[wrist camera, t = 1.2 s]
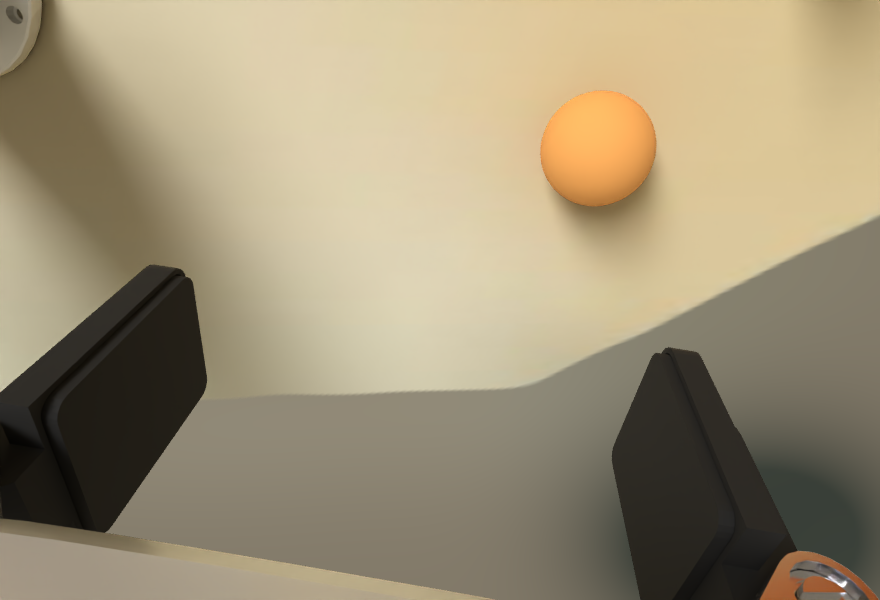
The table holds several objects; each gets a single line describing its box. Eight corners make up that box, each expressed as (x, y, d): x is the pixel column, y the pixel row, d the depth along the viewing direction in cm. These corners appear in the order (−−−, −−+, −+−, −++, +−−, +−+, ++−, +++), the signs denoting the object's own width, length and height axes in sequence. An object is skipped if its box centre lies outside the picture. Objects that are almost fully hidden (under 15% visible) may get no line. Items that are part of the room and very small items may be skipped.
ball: (560, 199, 34) (574, 242, 29) (518, 114, 32) (525, 145, 26) (654, 153, 32) (686, 191, 27) (618, 59, 30) (646, 81, 25)
